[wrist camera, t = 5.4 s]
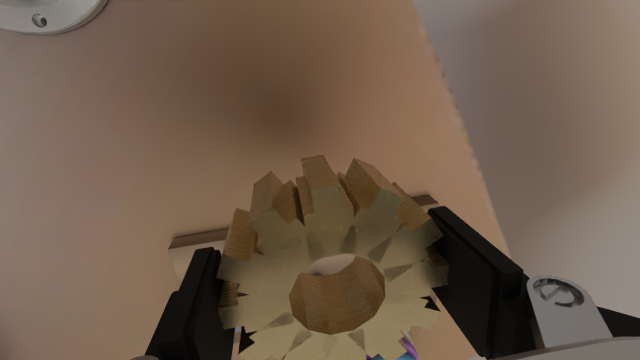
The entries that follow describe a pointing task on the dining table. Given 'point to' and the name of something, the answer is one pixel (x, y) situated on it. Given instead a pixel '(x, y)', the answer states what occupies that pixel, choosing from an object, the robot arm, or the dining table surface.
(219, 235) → the gear board
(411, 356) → the stacking toy
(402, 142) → the dining table surface
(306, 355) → the brass gear
